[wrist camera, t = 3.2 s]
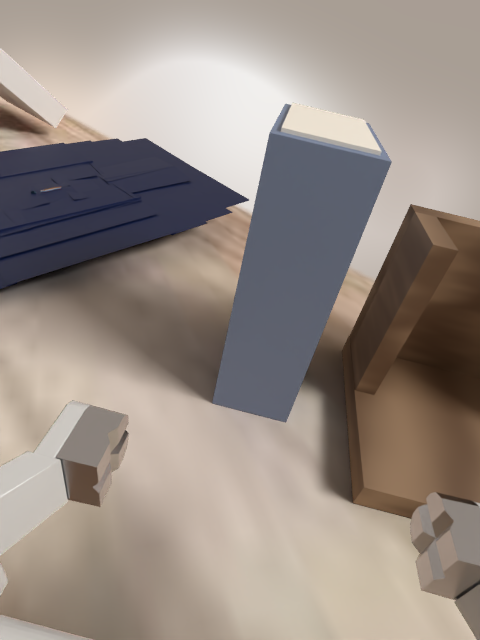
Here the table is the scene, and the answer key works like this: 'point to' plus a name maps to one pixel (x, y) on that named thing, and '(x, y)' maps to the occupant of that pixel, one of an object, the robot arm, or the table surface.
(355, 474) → the shelf
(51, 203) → the navy flat slab
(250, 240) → the tall blue pillar
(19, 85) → the pizza boxes
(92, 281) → the table surface
